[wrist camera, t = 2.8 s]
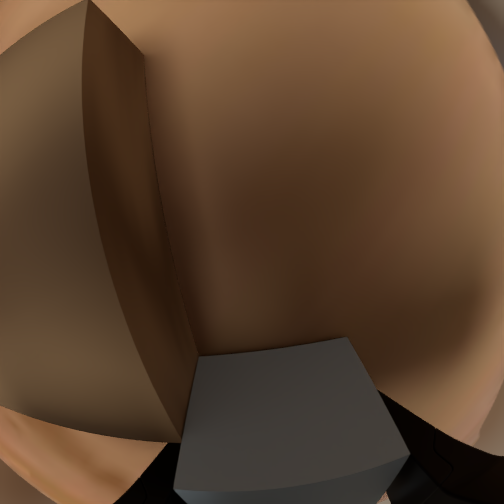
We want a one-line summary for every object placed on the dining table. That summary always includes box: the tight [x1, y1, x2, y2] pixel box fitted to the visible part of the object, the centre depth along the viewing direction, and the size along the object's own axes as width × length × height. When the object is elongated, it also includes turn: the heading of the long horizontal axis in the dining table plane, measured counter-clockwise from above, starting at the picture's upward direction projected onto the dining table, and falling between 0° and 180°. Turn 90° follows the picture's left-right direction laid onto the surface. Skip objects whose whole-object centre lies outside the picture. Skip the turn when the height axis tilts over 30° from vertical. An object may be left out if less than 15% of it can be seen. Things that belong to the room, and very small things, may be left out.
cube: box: [173, 337, 410, 504], centre depth 7 cm, size 5×5×5 cm
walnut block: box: [0, 0, 199, 443], centre depth 6 cm, size 10×10×4 cm
